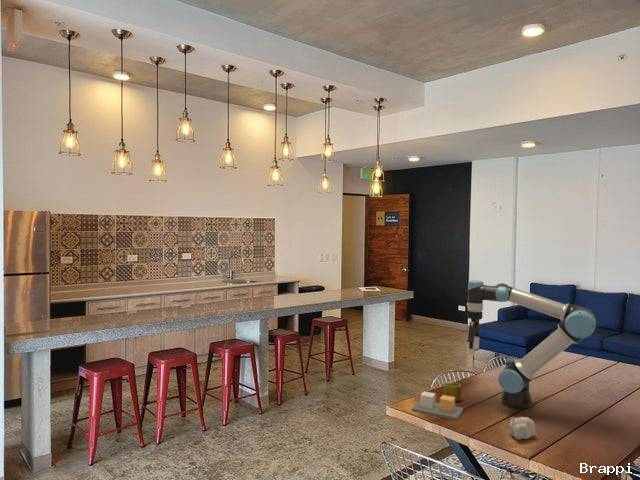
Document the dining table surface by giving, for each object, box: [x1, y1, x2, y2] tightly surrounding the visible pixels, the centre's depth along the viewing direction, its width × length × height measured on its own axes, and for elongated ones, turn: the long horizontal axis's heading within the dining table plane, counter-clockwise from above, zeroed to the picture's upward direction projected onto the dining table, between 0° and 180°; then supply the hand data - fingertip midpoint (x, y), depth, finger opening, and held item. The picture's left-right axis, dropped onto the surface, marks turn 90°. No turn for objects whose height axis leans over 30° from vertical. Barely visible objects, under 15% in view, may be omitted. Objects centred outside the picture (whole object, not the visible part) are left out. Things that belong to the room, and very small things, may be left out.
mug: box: [442, 381, 462, 402], centre depth 253 cm, size 12×10×10 cm
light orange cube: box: [439, 394, 456, 413], centre depth 233 cm, size 6×6×6 cm
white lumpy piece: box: [509, 415, 536, 440], centre depth 209 cm, size 9×11×15 cm
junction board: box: [411, 391, 464, 421], centre depth 236 cm, size 22×14×7 cm, turn 62°
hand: (473, 351), depth 246 cm, fingers open, 13 cm apart
